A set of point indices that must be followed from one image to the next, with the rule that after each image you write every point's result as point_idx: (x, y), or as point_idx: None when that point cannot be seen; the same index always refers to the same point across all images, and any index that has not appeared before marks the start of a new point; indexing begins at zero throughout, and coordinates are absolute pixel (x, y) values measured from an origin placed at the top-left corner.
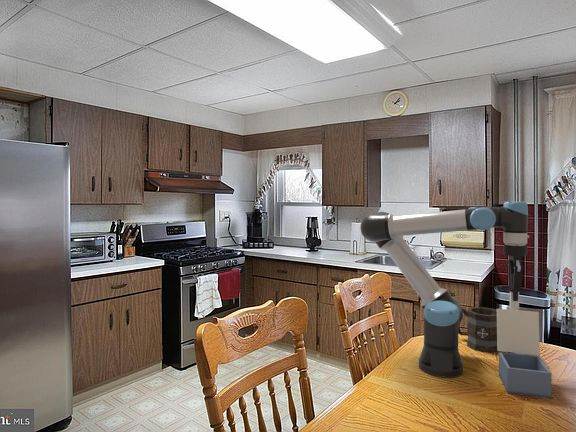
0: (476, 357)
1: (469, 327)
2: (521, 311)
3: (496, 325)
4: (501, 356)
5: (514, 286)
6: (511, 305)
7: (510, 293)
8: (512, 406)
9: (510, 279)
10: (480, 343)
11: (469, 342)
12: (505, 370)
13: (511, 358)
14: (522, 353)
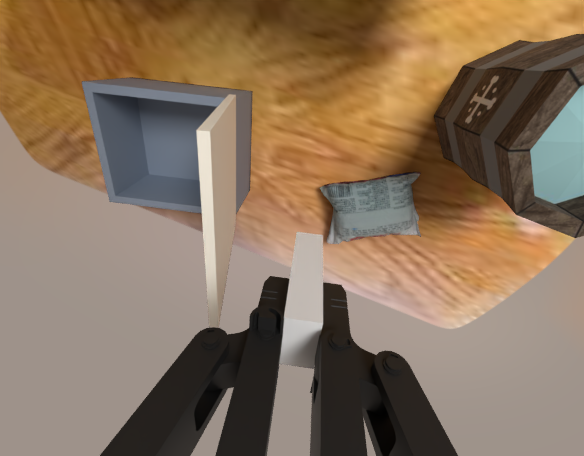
0: (390, 52)
1: (563, 44)
2: (205, 261)
3: (489, 173)
4: (187, 94)
5: (167, 376)
6: (294, 250)
7: (296, 304)
8: (58, 66)
9: (323, 452)
10: (467, 88)
11: (515, 48)
12: (126, 83)
13: None
14: (344, 200)
